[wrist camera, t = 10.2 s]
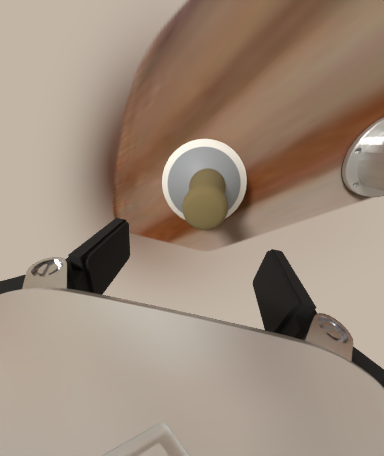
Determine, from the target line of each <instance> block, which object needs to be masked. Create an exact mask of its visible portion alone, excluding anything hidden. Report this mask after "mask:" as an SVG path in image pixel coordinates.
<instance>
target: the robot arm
mask: <svg viewBox="0 0 384 456" xmlns="http://www.w3.org/2000/svg"><path fill="white" fill-rule="evenodd" d="M342 177H343V181H344V183H345V185H346V186H347V187H348V188H349V189H350V190H351V191H353V192H354V193H356V194H359V195H362V196H367V197H380V196H384V117H383V118H381V119H379V120H378V121H376V122H375V123H373V124H372V125H371V126H369V127H368V128H367V129H366V130H365V131H364V132H363V133H362V134H361V135H360V136H359V137H358V138H357V139H356V140H355V142H354V143H353V144H352V146H351V147H350V149H349V150H348V152H347V154H346V157H345V159H344V162H343V167H342ZM129 243H130V242H129V224H128V222H126V220H124V219H119V218H116V219H114V220H113V221H112V222H111V223H109V224H108V225H107V226H105V227H104V228H103V229H101V230H100V231H99V232H97V233H96V234H95V235H94V236H92V237H91V238H90V239H89V240H87V241H86V242H85V243H83V244H82V245H81V246H79V247H78V248H77V249H75V250H74V251H73V252H72V253H70V254H69V257H68V258H67V259H63V258H59V257H53V258H47V259H43V260H41V261H38V262H36V263H35V264H33V265H32V266H31V267H30V268H29V269H28V270H27V273H26V275H23V276H19V277H16V278H12V279H8V280H4V281H0V456H384V369H382V368H381V367H380V366H378V365H377V364H376V363H374V362H373V361H371V360H370V359H369V358H368V357H366V356H365V355H364V354H362V353H361V352H360V351H359V350H357V349H356V348H354V347H353V339H352V337H351V335H350V333H349V332H348V330H347V329H346V328H345V327H344V326H343V325H342V324H341V323H340V322H338V321H337V320H336V319H334V318H332V317H331V316H329V315H326V314H322V313H319V314H317V312H316V310H315V308H316V306H315V305H314V303H313V301H312V300H311V298H310V297H309V295H308V293H307V291H306V290H305V288H304V287H303V285H302V283H301V282H300V280H299V278H298V277H297V275H296V274H295V272H294V270H293V269H292V267H291V265H290V264H289V262H288V260H287V259H286V257H285V256H284V254H283V252H281V251H278V250H273V249H272V250H270V251H268V252H267V253H266V255H265V257H264V259H263V261H262V263H261V265H260V267H259V270H258V272H257V274H256V276H255V278H254V280H253V287H254V290H255V294H256V298H257V302H258V305H259V309H260V313H261V317H262V321H263V324H264V328H265V330H261V329H257V328H252V327H248V326H243V325H239V324H235V323H230V322H225V321H221V320H217V319H212V318H207V317H203V316H199V315H194V314H190V313H185V312H180V311H176V310H171V309H167V308H162V307H157V306H153V305H148V304H143V303H138V302H134V301H129V300H125V299H120V298H115V297H110V296H106V295H102V294H103V293H104V291H105V290H106V289H107V287H108V286H109V285H110V283H111V282H112V281H113V279H114V278H115V277H116V275H117V274H118V272H119V271H120V270H121V268H122V267H123V266H124V264H125V263H126V262H127V260H128V259H129V256H130V244H129Z"/></svg>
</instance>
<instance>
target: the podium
mask: <svg viewBox="0 0 384 456" xmlns="http://www.w3.org/2000/svg"><path fill="white" fill-rule="evenodd" d="M205 168H211V169H214V170H217V171H218V172H219V173H220V174H221V175H222V176H223V178H224V180H225V184H226V188H225V194H224V195H225V196H226V198H227V202H228V213H227V215H226V218H227V217H228V216H230V215H231V214H232V213H233V212H234V211H235V210H236V209H237V208H238V206H239V205H240V203H241V202H242V200H243V197H244V195H245V191H246V185H247V177H246V171H245V168H244V165H243V163H242V161H241V159H240V158H239V156H238V155H237V154H236V152H235V151H234V150H233V149H231V148H230V147H229V146H227V145H226V144H224V143H222V142H219V141H216V140H212V139H198V140H193V141H191V142H188V143H186V144H184V145H182V146H181V147H179V148H178V149H177V150H176V151H175V152H174V153H173V154H172V155H171V157H170V158H169V160H168V161H167V163H166V166H165V168H164V172H163V177H162V187H163V192H164V196H165V198H166V201H167V203H168V204H169V206H170V207H171V209H172V210H173V211H174V212H175V213H176V214H177V215H178V216H180V217H181V218H183V219H185V217H184V215H183V210H182V204H183V200H184V198H185V196H186V195H187V193H188V192H189V183H190V180H191V178H192V176H193V175H194V174H195V173H196V172H198V171H199V170H202V169H205ZM185 220H186V219H185Z"/></svg>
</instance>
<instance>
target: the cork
mask: <svg viewBox="0 0 384 456" xmlns="http://www.w3.org/2000/svg"><path fill="white" fill-rule="evenodd" d="M225 188H226V184H225V180H224V178H223V176H222V175H221V174H220V173H219V172H218V171H217V170H214V169H211V168H205V169H202V170H199V171H198V172H196V173H195V174H194V175H193V176H192V178H191V180H190V183H189V192H188V193H187V195H186V196H185V198H184V200H183V204H182V210H183V215H184V217H185V219H186V221H187V222H188V223H189V224H190V225H191V226H193V227H194V228H197V229H200V230H210V229H214V228H216V227H218V226H219V225H220V224H221V223H222V222H223V221H224V220H225V218H226V215H227V213H228V202H227V198H226V196H225V195H224V194H225Z"/></svg>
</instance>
